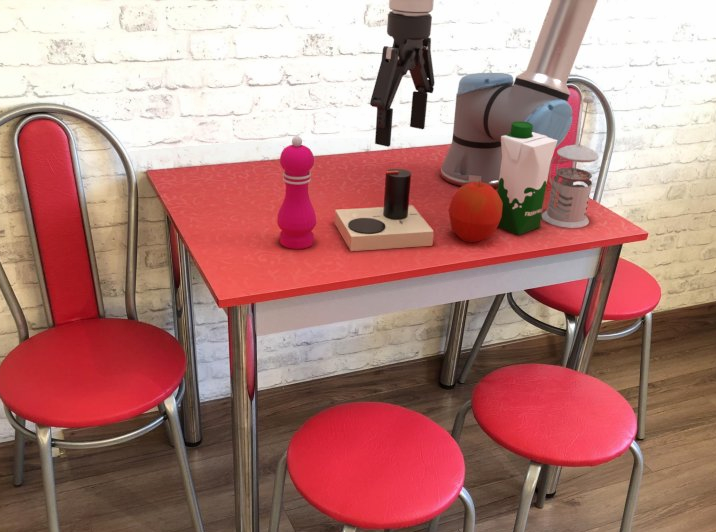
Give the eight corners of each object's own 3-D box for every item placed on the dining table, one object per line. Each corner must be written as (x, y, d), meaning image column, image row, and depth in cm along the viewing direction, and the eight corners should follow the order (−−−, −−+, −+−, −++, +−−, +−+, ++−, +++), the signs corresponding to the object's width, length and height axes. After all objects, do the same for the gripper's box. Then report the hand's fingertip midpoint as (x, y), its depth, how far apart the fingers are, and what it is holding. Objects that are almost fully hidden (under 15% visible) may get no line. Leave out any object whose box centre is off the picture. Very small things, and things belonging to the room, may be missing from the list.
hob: (411, 219, 161) (412, 204, 159) (432, 245, 150) (434, 230, 149) (334, 223, 157) (335, 208, 155) (350, 251, 147) (351, 235, 145)
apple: (501, 249, 150) (510, 191, 144) (448, 247, 150) (455, 188, 144) (494, 228, 159) (502, 172, 153) (444, 225, 159) (450, 170, 153)
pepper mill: (310, 252, 145) (312, 144, 135) (272, 247, 146) (271, 140, 136) (320, 237, 151) (322, 132, 141) (283, 232, 152) (282, 128, 142)
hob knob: (403, 209, 157) (406, 166, 152) (410, 219, 153) (414, 175, 148) (380, 210, 156) (382, 167, 151) (387, 220, 152) (390, 176, 147)
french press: (559, 230, 159) (584, 104, 146) (527, 209, 168) (547, 88, 155) (599, 224, 163) (626, 100, 150) (565, 204, 172) (588, 85, 159)
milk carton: (512, 214, 166) (527, 117, 155) (546, 228, 160) (565, 129, 149) (484, 223, 161) (497, 125, 150) (519, 238, 155) (536, 137, 144)
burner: (379, 218, 153) (379, 216, 153) (389, 232, 147) (389, 231, 147) (344, 220, 151) (344, 218, 151) (353, 235, 146) (353, 233, 145)
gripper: (423, 1, 146) (413, 117, 157) (353, 17, 127) (348, 148, 138) (460, 6, 143) (447, 124, 154) (395, 24, 124) (385, 157, 135)
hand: (400, 136), depth 146 cm, fingers open, 13 cm apart
